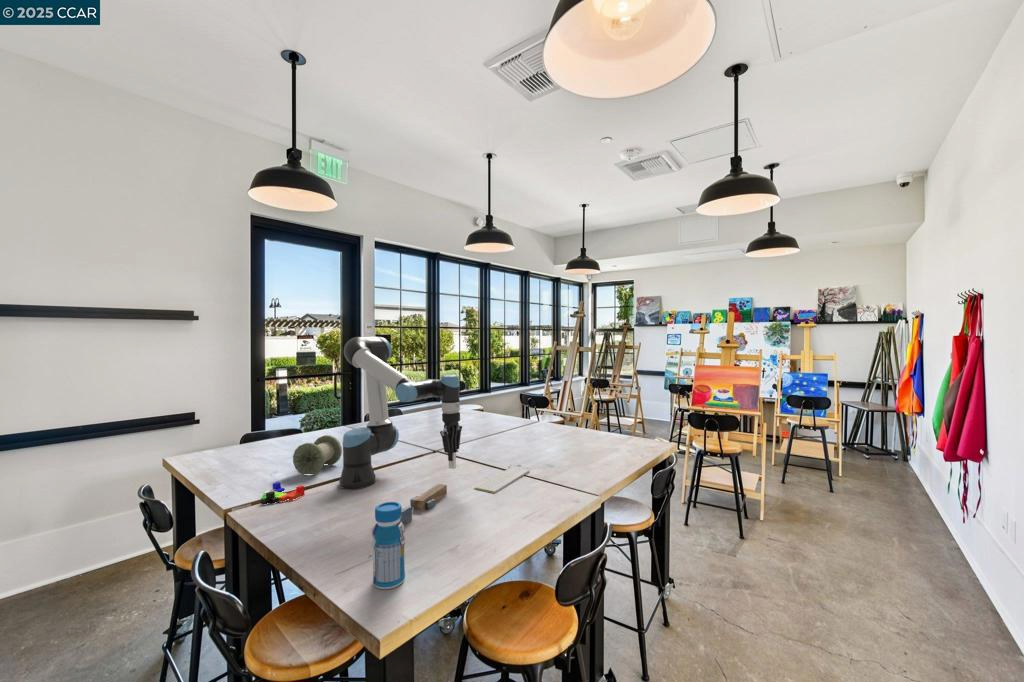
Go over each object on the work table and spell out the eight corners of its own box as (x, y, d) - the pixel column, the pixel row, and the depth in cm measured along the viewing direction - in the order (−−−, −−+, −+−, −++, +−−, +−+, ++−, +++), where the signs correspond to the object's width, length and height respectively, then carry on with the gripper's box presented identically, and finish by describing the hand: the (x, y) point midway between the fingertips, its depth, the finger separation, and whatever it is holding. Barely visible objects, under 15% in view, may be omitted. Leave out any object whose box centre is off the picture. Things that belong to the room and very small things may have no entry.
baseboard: (470, 489, 180) (494, 495, 174) (470, 483, 179) (494, 488, 173) (507, 469, 206) (529, 473, 200) (507, 463, 206) (529, 467, 200)
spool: (314, 464, 215) (313, 434, 215) (341, 465, 213) (341, 435, 213) (293, 475, 199) (292, 443, 199) (322, 476, 197) (322, 444, 197)
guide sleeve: (410, 505, 162) (410, 499, 162) (417, 502, 165) (417, 495, 165) (428, 509, 158) (428, 503, 158) (434, 506, 161) (434, 499, 161)
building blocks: (248, 503, 166) (248, 492, 166) (277, 492, 178) (276, 481, 178) (277, 508, 161) (277, 497, 161) (304, 496, 173) (304, 485, 173)
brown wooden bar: (413, 510, 158) (413, 499, 158) (438, 493, 175) (438, 483, 175) (422, 511, 157) (422, 501, 157) (446, 494, 174) (446, 484, 173)
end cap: (377, 523, 146) (377, 510, 146) (393, 514, 154) (393, 502, 153) (396, 528, 143) (395, 515, 142) (412, 519, 150) (411, 506, 150)
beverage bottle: (383, 595, 106) (382, 515, 106) (366, 582, 112) (365, 506, 112) (412, 580, 112) (411, 505, 112) (394, 568, 118) (393, 497, 118)
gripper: (449, 415, 170) (450, 473, 170) (467, 409, 182) (468, 464, 182) (434, 414, 174) (435, 471, 174) (452, 408, 185) (454, 462, 185)
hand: (452, 467), depth 178 cm, fingers closed
